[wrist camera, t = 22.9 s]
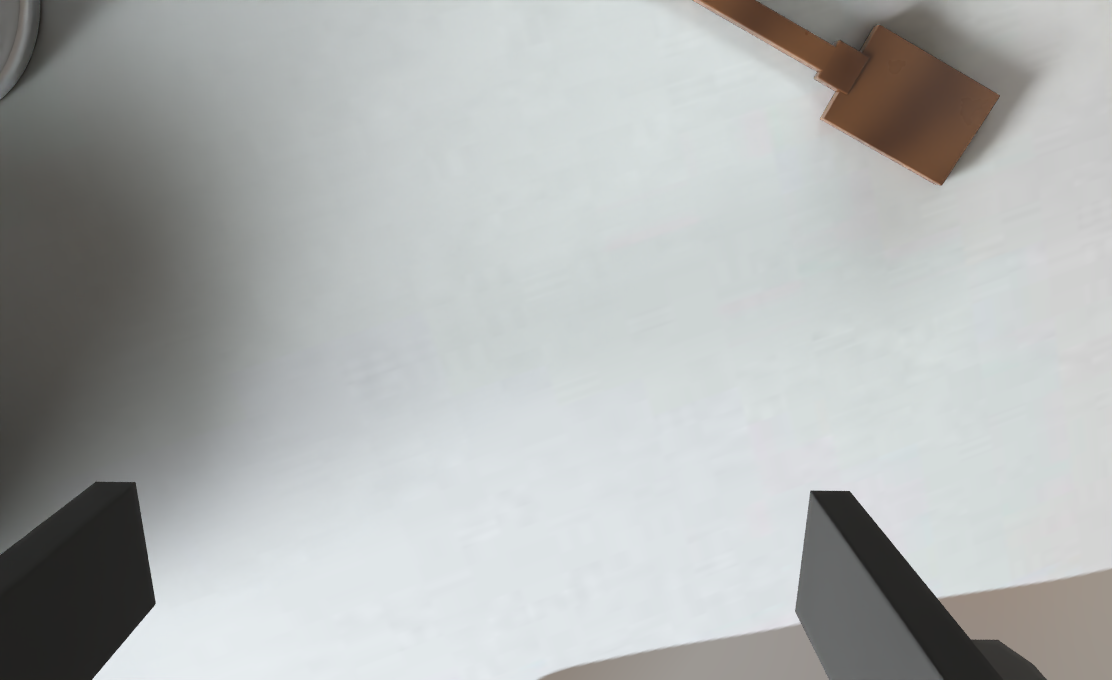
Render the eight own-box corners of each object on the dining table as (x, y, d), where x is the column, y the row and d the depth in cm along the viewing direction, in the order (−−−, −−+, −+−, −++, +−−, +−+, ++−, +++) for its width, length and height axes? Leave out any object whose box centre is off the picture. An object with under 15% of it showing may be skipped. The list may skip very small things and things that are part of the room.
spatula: (618, 5, 39) (618, 2, 39) (668, -96, 38) (670, -101, 37) (935, 185, 42) (943, 186, 41) (993, 96, 40) (1001, 95, 40)
